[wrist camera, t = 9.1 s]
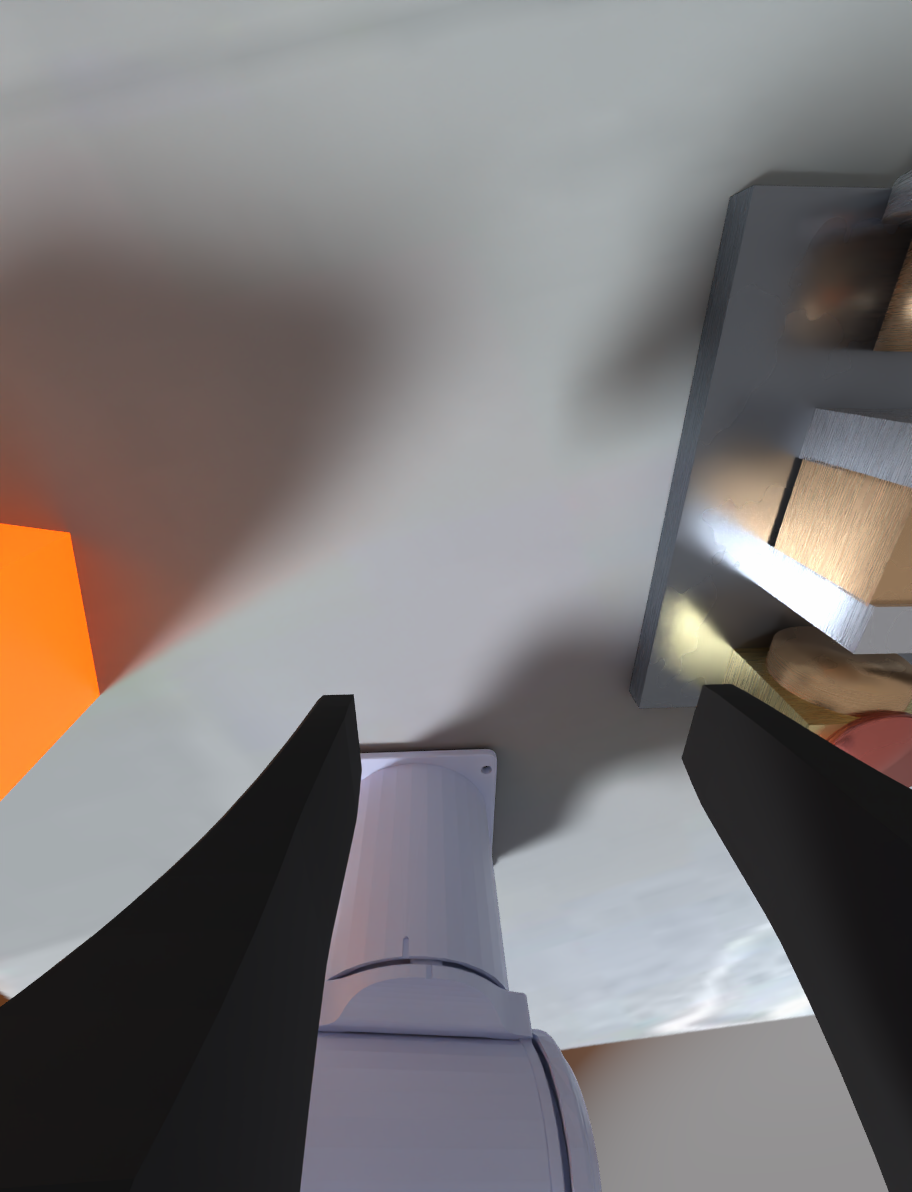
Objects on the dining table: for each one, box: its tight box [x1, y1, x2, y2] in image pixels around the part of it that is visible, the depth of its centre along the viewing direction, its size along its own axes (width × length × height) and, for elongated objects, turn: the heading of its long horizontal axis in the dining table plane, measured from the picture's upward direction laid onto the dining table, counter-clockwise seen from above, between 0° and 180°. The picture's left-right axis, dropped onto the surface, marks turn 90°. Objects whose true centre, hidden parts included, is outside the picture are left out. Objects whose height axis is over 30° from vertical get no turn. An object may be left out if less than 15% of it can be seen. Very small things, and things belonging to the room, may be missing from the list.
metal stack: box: [629, 170, 912, 788], centre depth 16 cm, size 18×12×6 cm, turn 0°
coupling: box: [758, 408, 912, 654], centre depth 16 cm, size 6×5×5 cm
